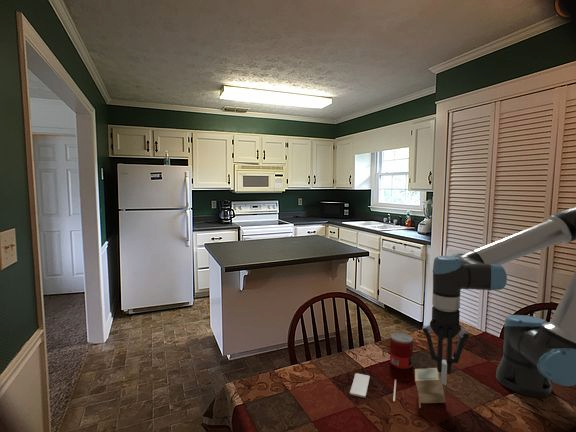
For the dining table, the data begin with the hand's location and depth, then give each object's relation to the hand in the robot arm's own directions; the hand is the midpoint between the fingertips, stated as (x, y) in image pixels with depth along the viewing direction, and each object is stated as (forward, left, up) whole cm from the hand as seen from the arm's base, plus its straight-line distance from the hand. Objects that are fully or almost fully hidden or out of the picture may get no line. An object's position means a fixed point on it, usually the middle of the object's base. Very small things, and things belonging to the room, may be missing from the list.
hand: (443, 382), depth 99 cm
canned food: (+13, -18, -7) cm, 24 cm away
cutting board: (+13, 0, -7) cm, 14 cm away
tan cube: (+3, 0, -5) cm, 6 cm away
